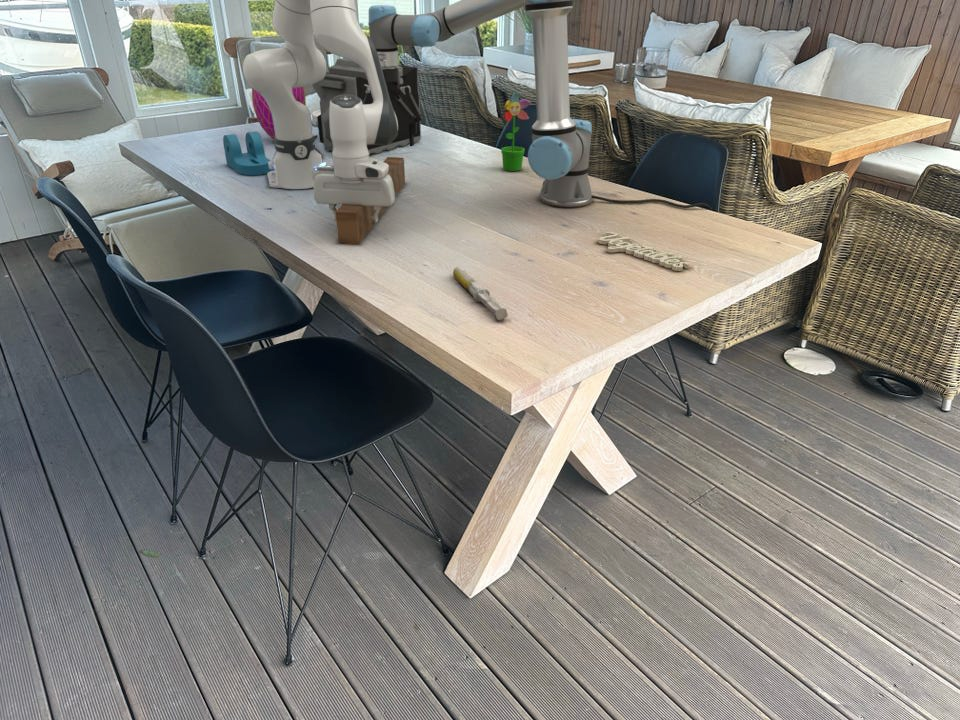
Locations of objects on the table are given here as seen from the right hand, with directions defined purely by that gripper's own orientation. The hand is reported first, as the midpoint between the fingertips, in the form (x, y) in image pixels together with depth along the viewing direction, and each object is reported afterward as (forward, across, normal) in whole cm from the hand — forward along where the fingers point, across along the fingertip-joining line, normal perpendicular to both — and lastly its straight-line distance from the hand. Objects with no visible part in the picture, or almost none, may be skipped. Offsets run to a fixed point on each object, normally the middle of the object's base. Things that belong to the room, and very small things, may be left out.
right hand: (389, 144), depth 203 cm
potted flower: (+14, +35, +30) cm, 48 cm away
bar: (+14, 0, -19) cm, 24 cm away
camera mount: (+14, -52, +16) cm, 56 cm away
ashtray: (+14, -44, +91) cm, 102 cm away
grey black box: (+14, -21, +54) cm, 59 cm away
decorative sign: (+14, +71, -42) cm, 84 cm away
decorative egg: (+14, -56, +57) cm, 81 cm away
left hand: (+10, 0, -39) cm, 40 cm away
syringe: (+14, +36, -72) cm, 82 cm away
